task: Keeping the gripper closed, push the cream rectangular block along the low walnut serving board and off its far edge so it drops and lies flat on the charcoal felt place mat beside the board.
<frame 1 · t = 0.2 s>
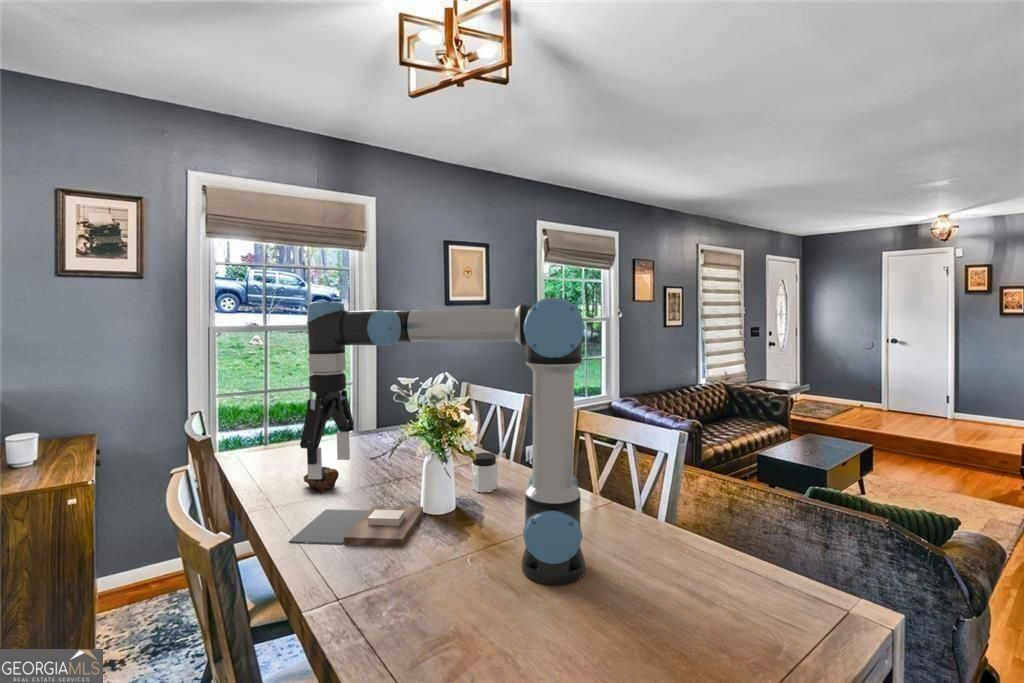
hand: (330, 468, 109), 28 cm above the table, tool pointing down, fingers open, 13 cm apart
place mat: (333, 526, 145), on the table
serving board: (386, 527, 143), on the table
jar: (484, 489, 174), on the table
cream rectangular block: (386, 520, 143), point 2 cm above the table, touching serving board
decorative turtle: (321, 489, 176), on the table
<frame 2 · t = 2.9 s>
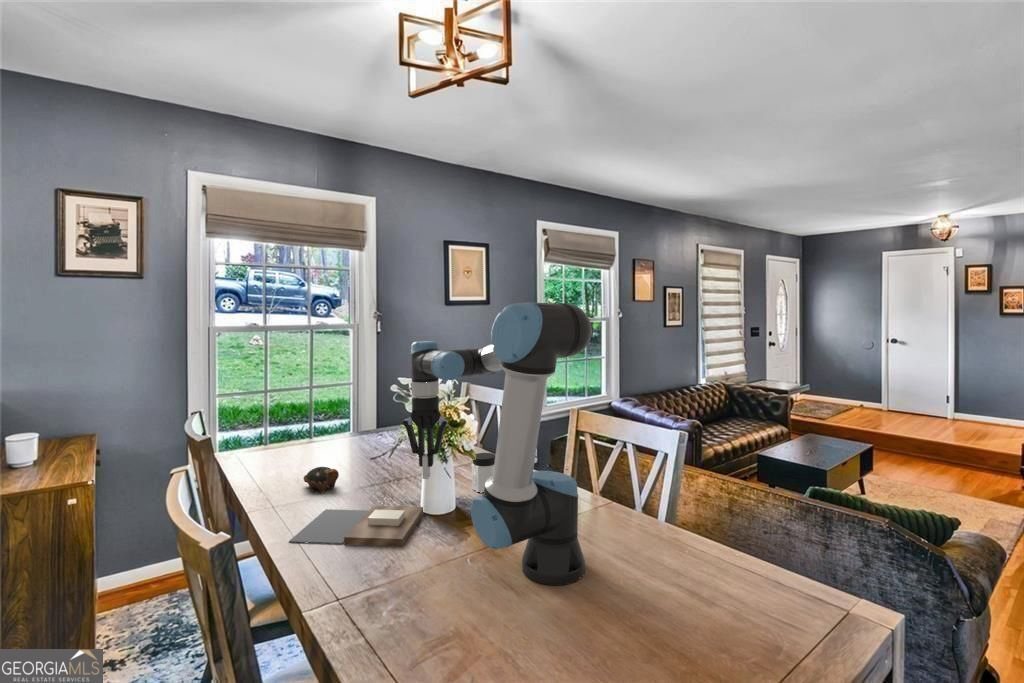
hand: (426, 477, 142), 15 cm above the table, tool pointing down, fingers closed
nothing on the table moved.
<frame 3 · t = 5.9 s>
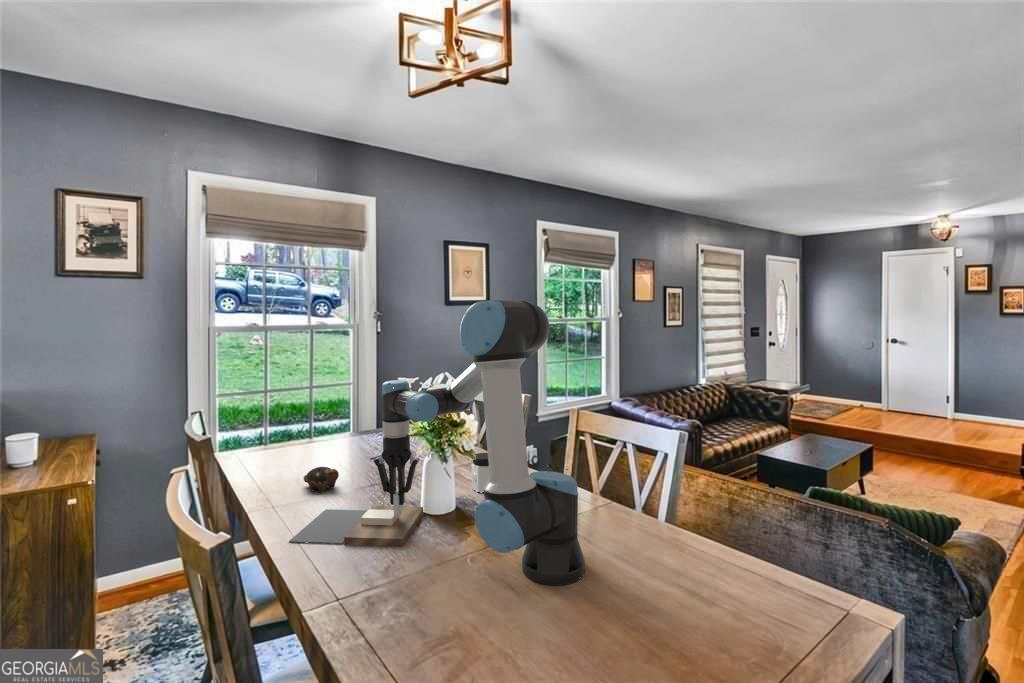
hand: (397, 515, 143), 4 cm above the table, tool pointing down, fingers closed
cream rectangular block: (380, 520, 144), point 2 cm above the table, touching gripper
everything else where it was.
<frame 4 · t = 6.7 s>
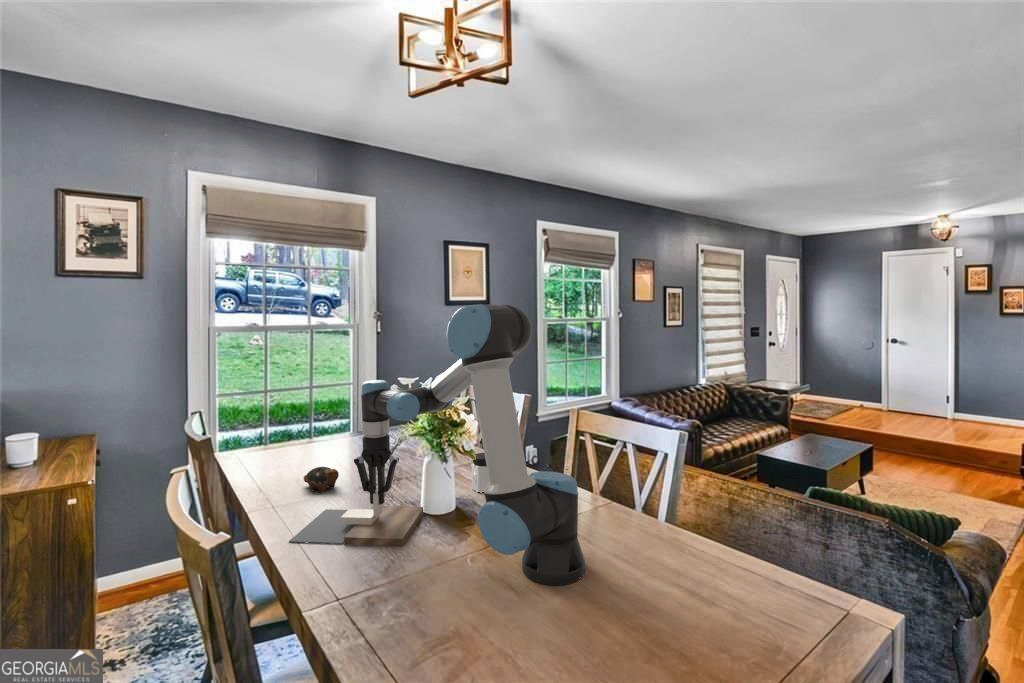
hand: (377, 514, 144), 4 cm above the table, tool pointing down, fingers closed
cream rectangular block: (360, 520, 144), point 2 cm above the table, touching gripper
everything else where it was.
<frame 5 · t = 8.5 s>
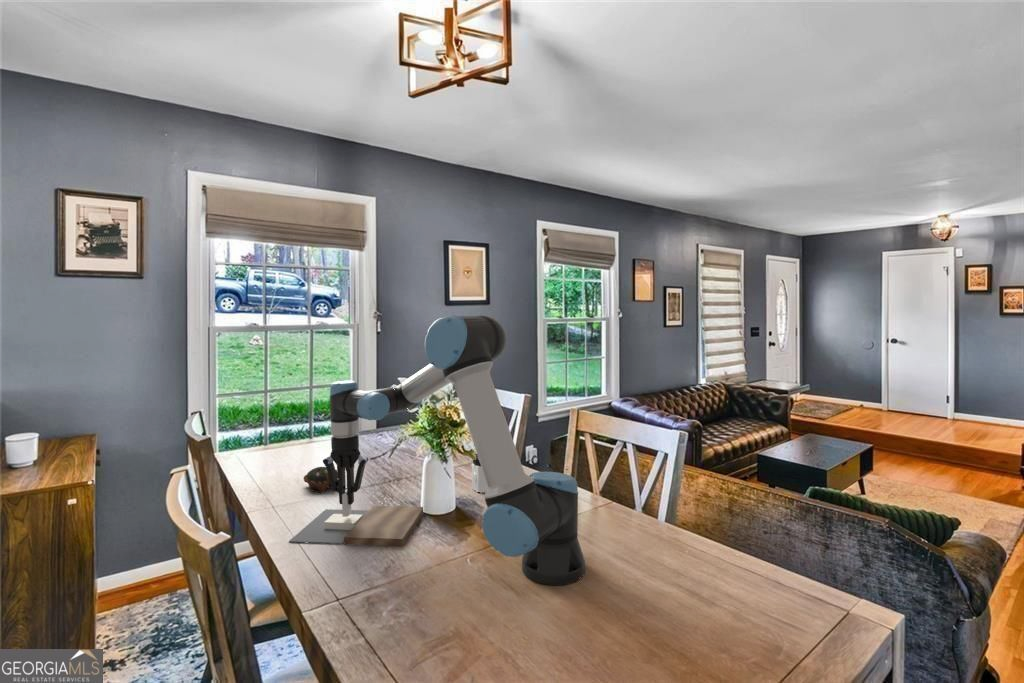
hand: (347, 514, 144), 3 cm above the table, tool pointing down, fingers closed
cream rectangular block: (343, 525, 144), resting on place mat
everything else where it was.
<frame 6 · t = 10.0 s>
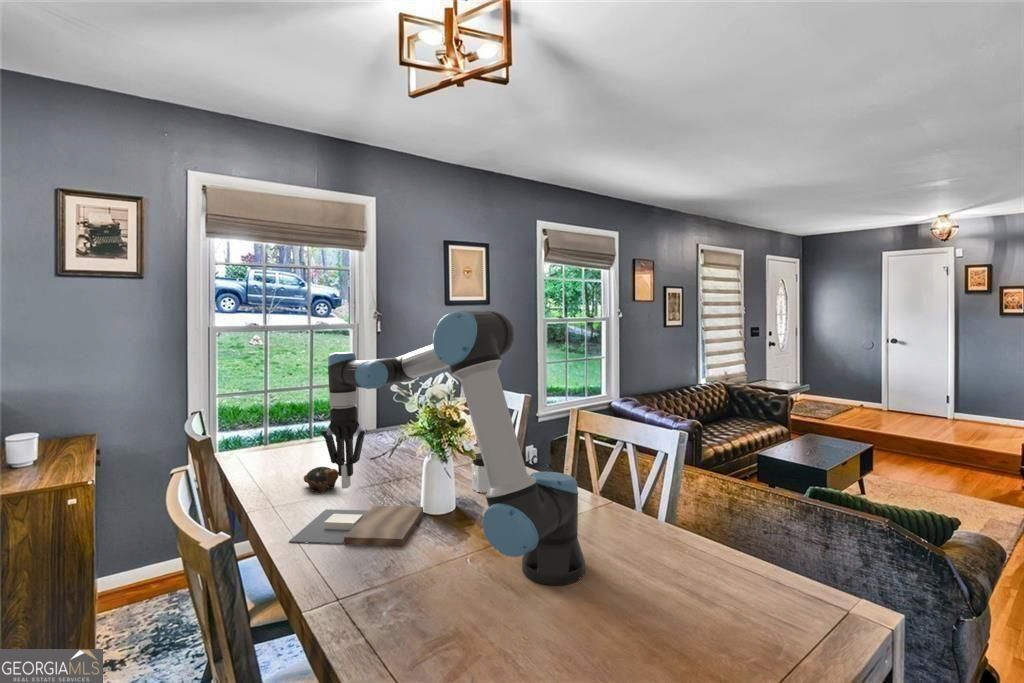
hand: (346, 486, 144), 12 cm above the table, tool pointing down, fingers closed
nothing on the table moved.
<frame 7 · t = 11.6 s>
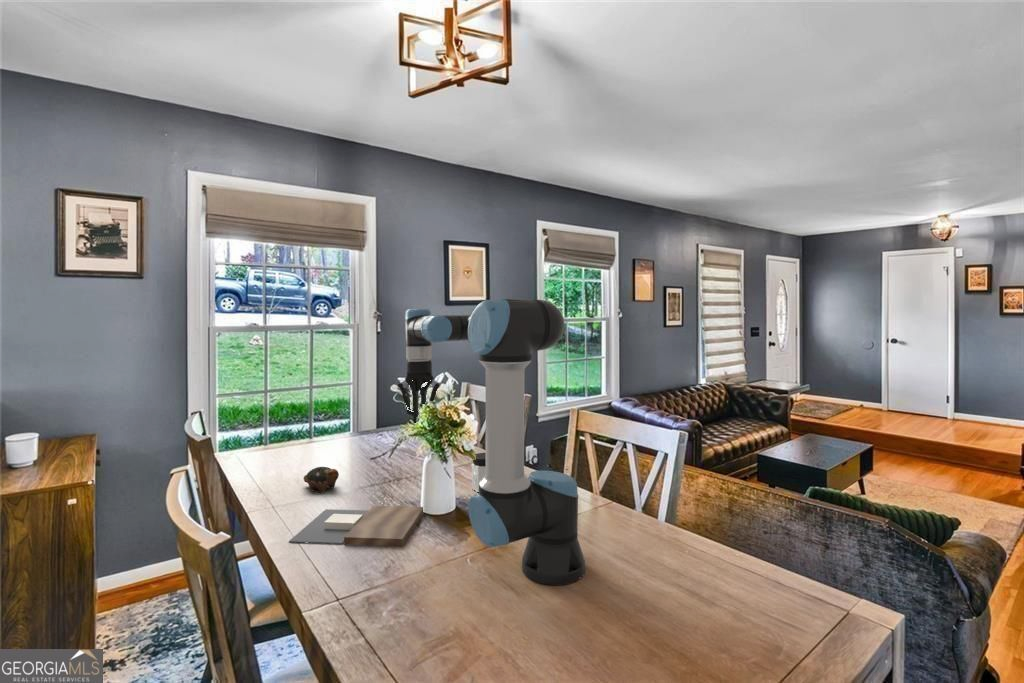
hand: (420, 437, 151), 24 cm above the table, tool pointing down, fingers closed
nothing on the table moved.
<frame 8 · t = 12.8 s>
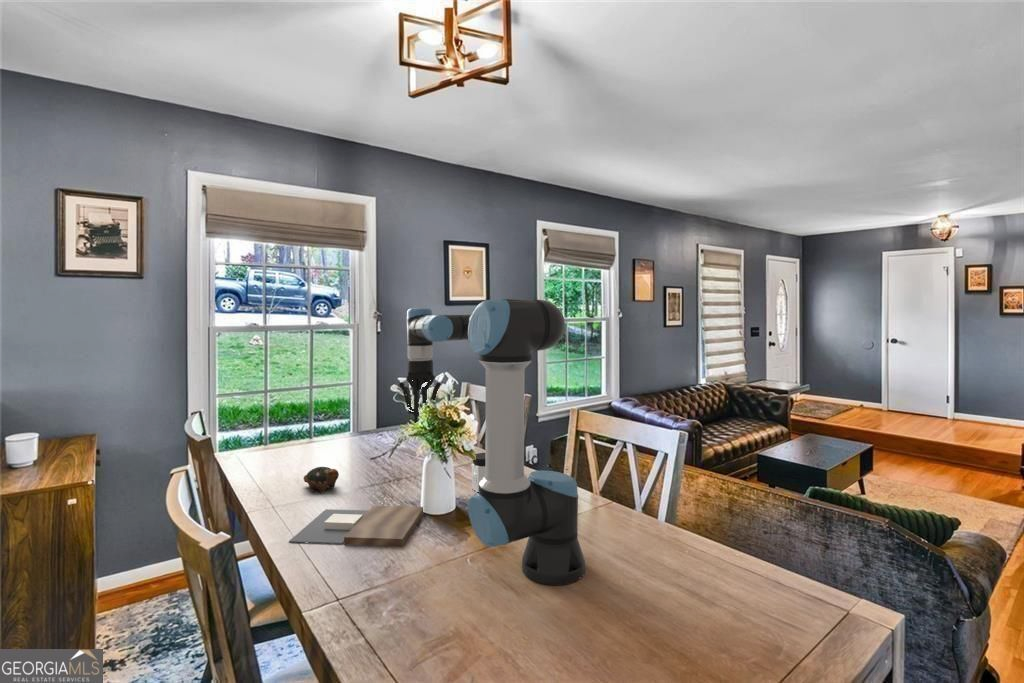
hand: (421, 436, 151), 24 cm above the table, tool pointing down, fingers closed
nothing on the table moved.
at the end: cream rectangular block inside the target area (3.2 cm from its centre), resting on place mat; cream rectangular block tilted 0°; cream rectangular block touching place mat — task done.
